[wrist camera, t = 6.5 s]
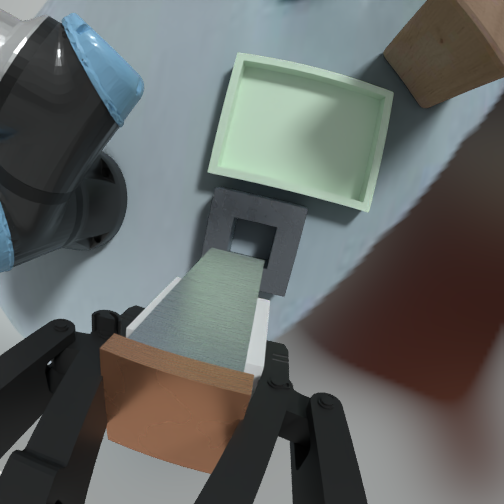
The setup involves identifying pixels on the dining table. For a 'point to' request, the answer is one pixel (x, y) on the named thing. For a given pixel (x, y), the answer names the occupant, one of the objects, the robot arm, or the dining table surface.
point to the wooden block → (449, 49)
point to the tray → (302, 130)
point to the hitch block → (261, 211)
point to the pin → (186, 365)
